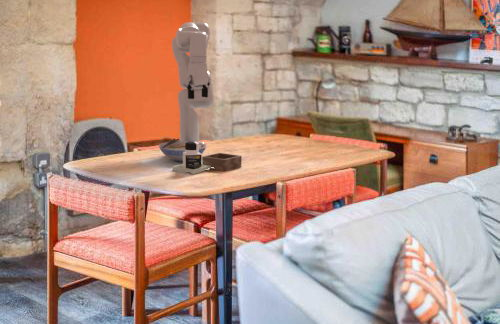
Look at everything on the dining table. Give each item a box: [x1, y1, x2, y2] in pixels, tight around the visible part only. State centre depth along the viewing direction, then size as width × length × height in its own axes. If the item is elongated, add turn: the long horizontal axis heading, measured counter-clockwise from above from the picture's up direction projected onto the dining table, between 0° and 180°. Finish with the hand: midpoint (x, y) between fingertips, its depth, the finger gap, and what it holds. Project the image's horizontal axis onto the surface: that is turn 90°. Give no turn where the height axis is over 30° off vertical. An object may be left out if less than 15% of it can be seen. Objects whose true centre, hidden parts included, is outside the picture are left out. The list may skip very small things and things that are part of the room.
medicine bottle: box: [182, 141, 203, 169], centre depth 335 cm, size 7×7×12 cm
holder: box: [202, 152, 243, 172], centre depth 343 cm, size 13×13×5 cm
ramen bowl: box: [158, 138, 208, 162], centre depth 358 cm, size 25×23×8 cm
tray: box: [171, 163, 211, 175], centre depth 336 cm, size 12×12×2 cm
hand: (198, 98), depth 346 cm, fingers open, 9 cm apart
